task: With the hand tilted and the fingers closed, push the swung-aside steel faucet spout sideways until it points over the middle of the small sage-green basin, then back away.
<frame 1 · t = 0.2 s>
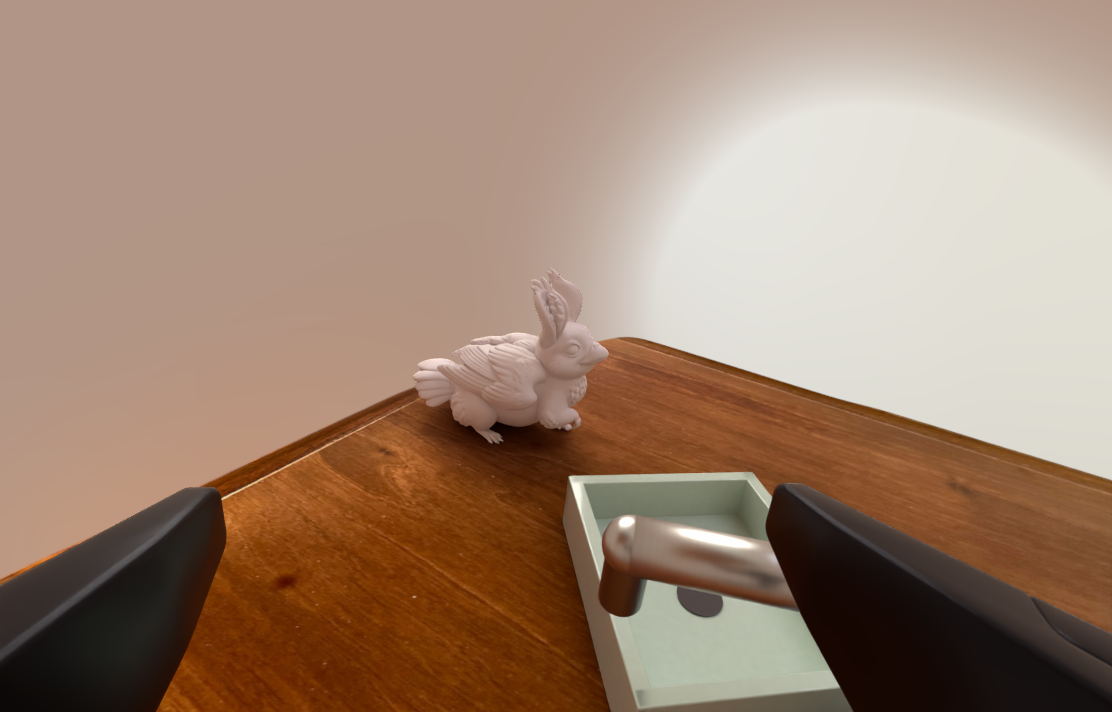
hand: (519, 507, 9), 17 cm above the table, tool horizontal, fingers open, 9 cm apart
figurine: (504, 423, 44), on the table
faucet: (764, 657, 20), point 6 cm above the table, hinge at 0.0°
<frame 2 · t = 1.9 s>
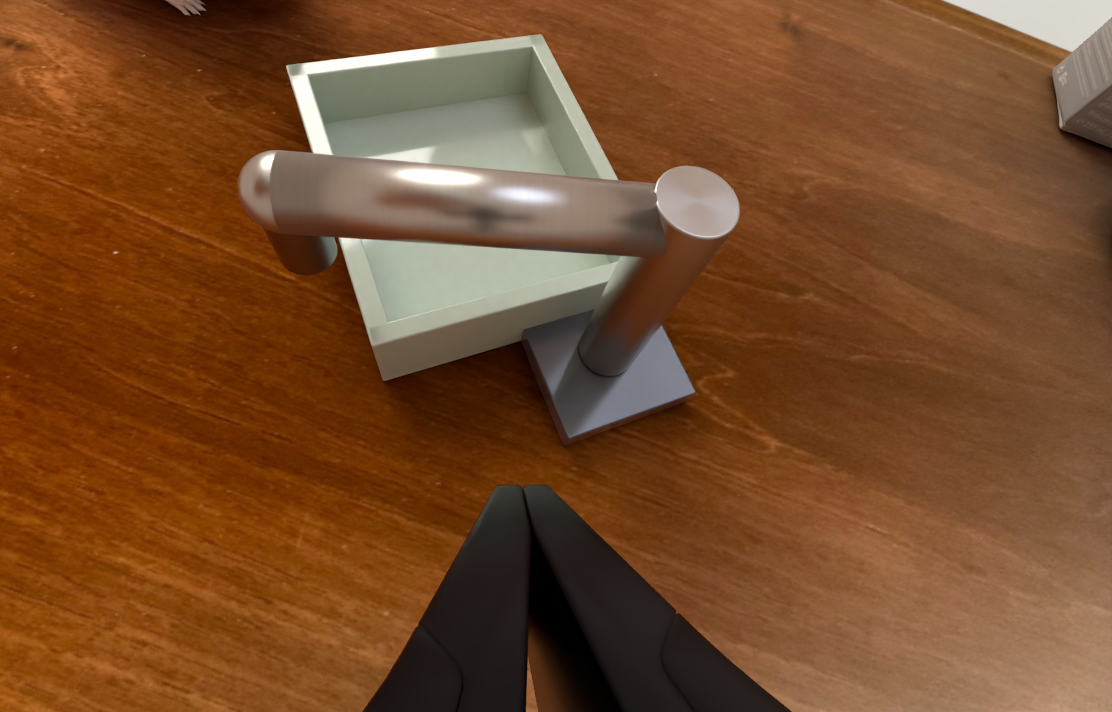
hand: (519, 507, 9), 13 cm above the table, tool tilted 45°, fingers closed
faucet: (494, 284, 18), point 6 cm above the table, hinge at 0.0°
sink: (599, 361, 24), on the table
cosmetic box: (1102, 120, 39), on the table
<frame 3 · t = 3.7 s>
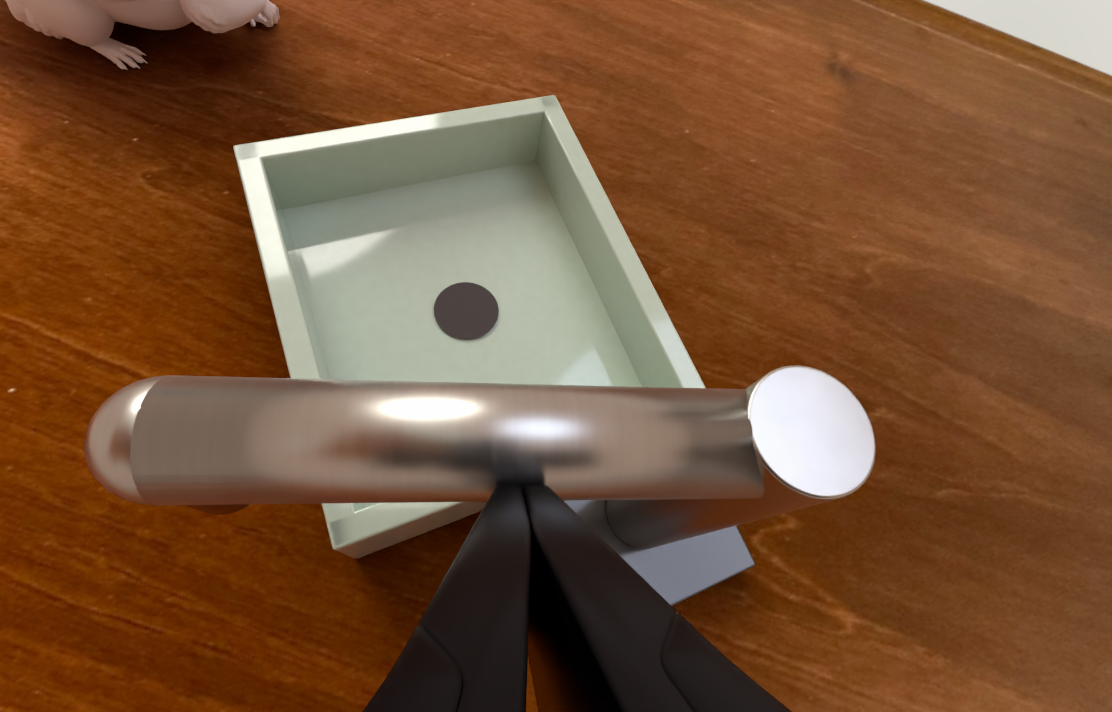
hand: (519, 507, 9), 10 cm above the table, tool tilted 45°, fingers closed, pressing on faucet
figurine: (150, 22, 25), on the table
faucet: (498, 483, 13), point 6 cm above the table, hinge at 0.0°, touching gripper
sink: (629, 516, 19), on the table
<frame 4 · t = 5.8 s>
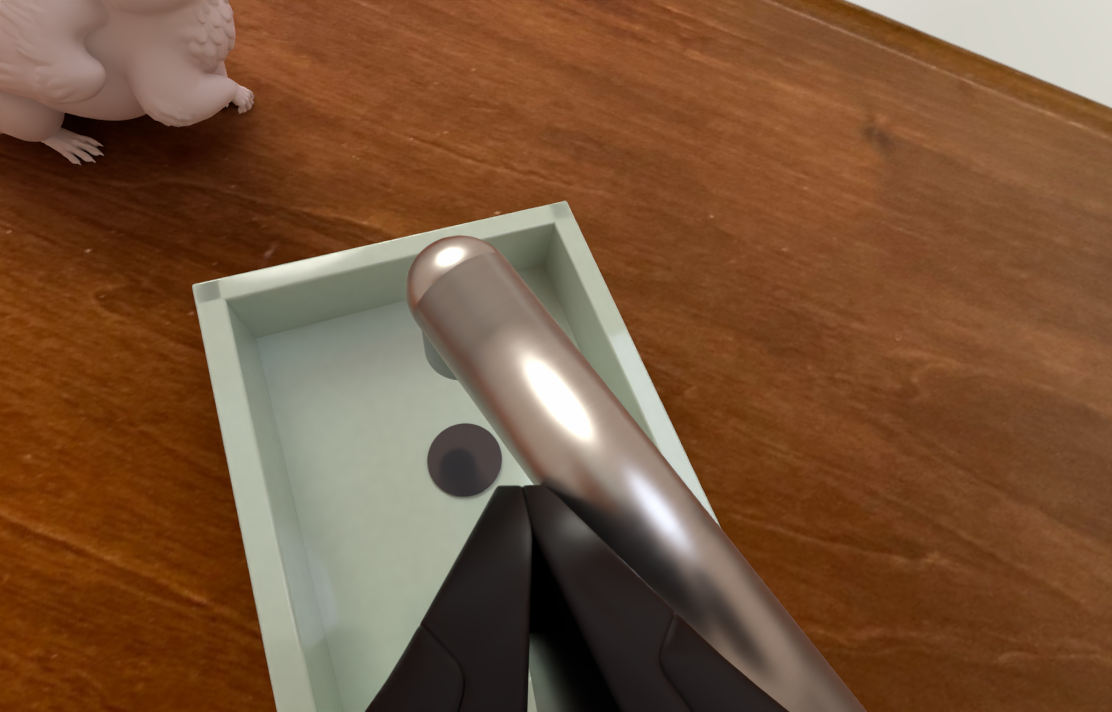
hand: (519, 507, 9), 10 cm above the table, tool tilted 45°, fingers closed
figurine: (109, 103, 22), on the table
faucet: (597, 556, 12), point 6 cm above the table, hinge at 54.4°, touching gripper
sink: (652, 707, 17), on the table
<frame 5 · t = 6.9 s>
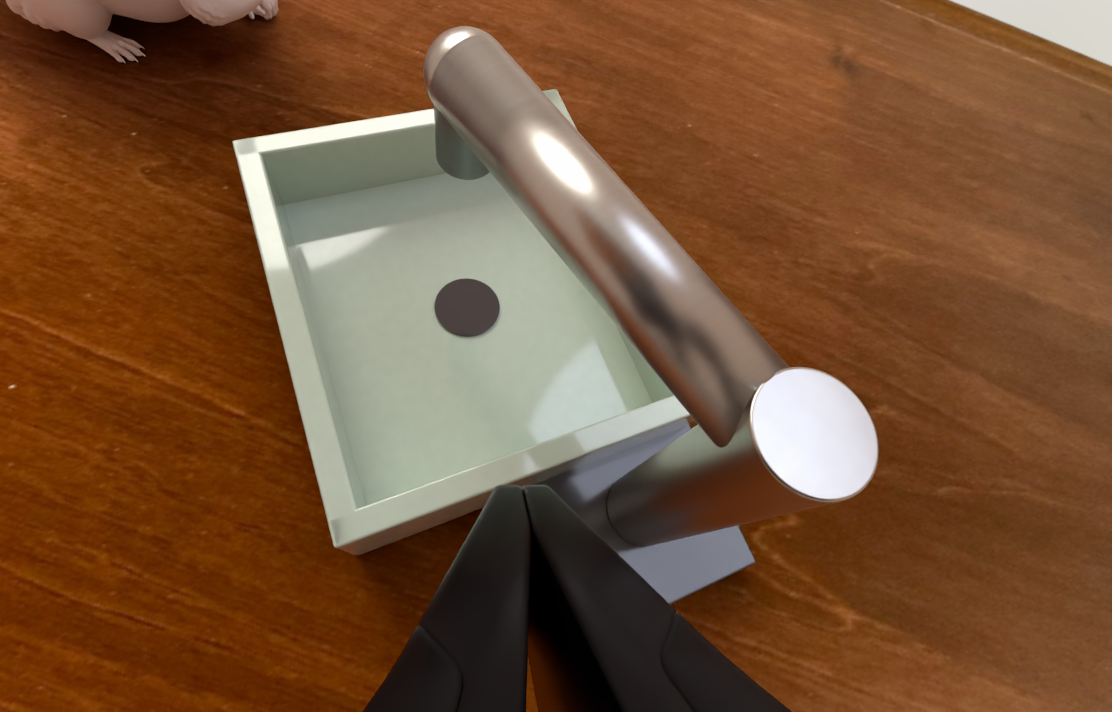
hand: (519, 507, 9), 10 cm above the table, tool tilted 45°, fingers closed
figurine: (148, 14, 25), on the table
faucet: (578, 329, 15), point 6 cm above the table, hinge at 54.5°
sink: (630, 513, 19), on the table
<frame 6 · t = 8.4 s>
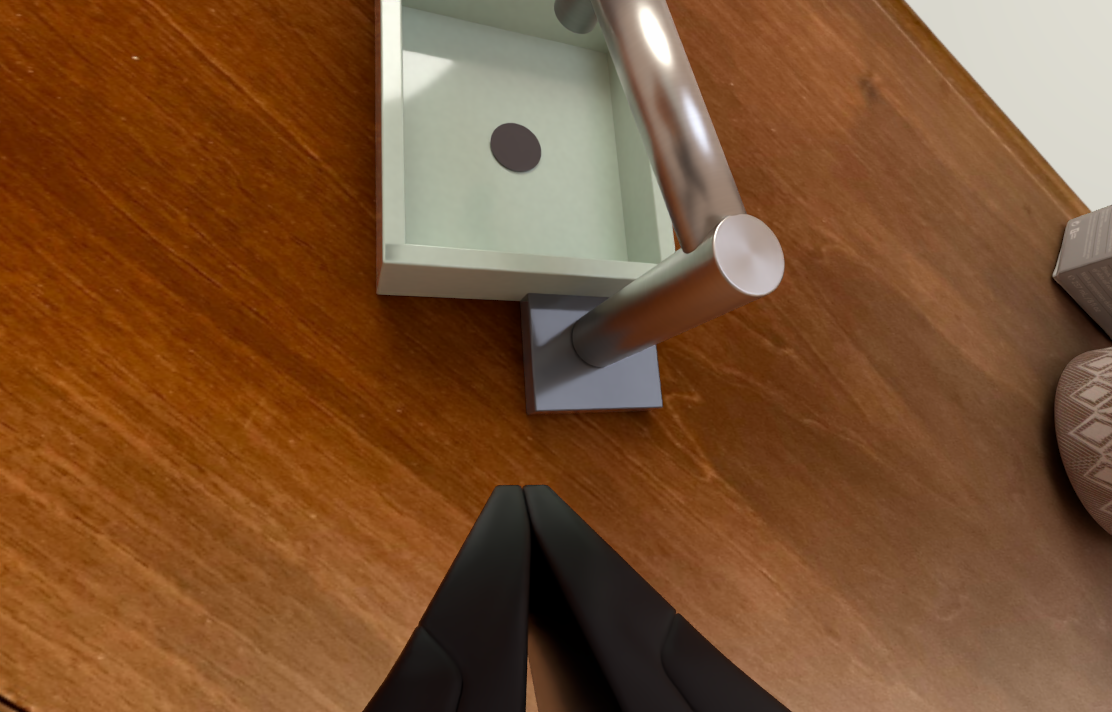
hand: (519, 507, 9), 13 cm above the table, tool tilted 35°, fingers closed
faucet: (609, 175, 20), point 6 cm above the table, hinge at 54.5°
sink: (585, 346, 25), on the table
planter: (1092, 446, 38), on the table
cosmetic box: (1087, 282, 42), on the table
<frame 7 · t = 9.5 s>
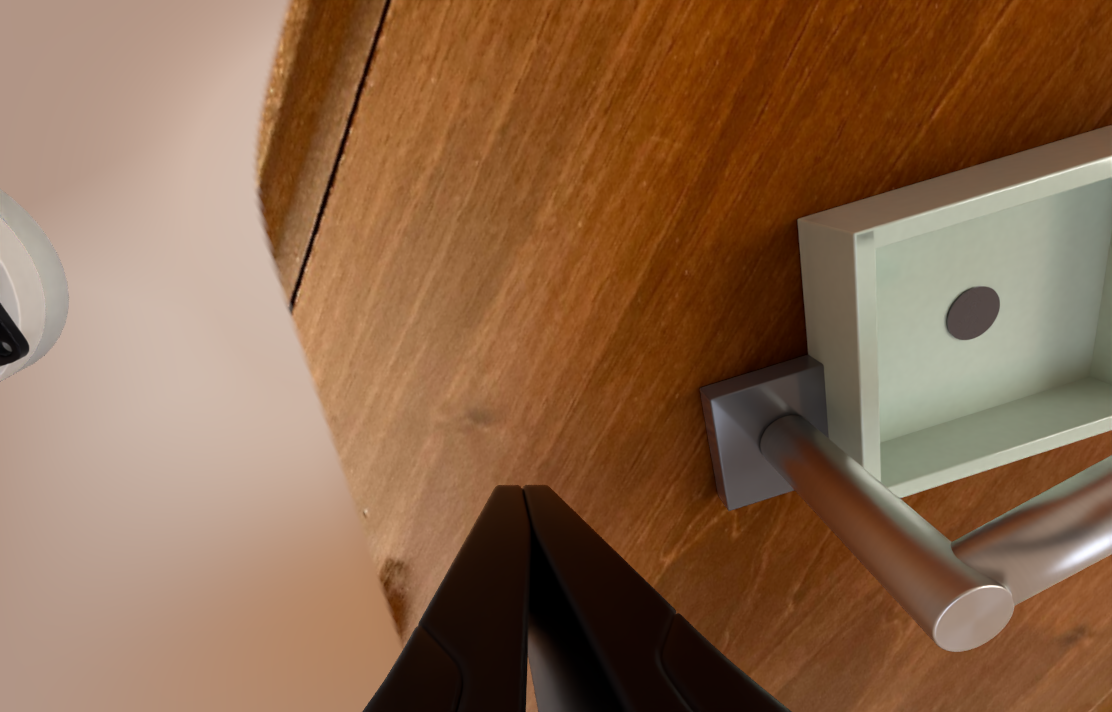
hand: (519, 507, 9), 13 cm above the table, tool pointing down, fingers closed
faucet: (988, 436, 19), point 6 cm above the table, hinge at 54.5°
sink: (770, 424, 25), on the table
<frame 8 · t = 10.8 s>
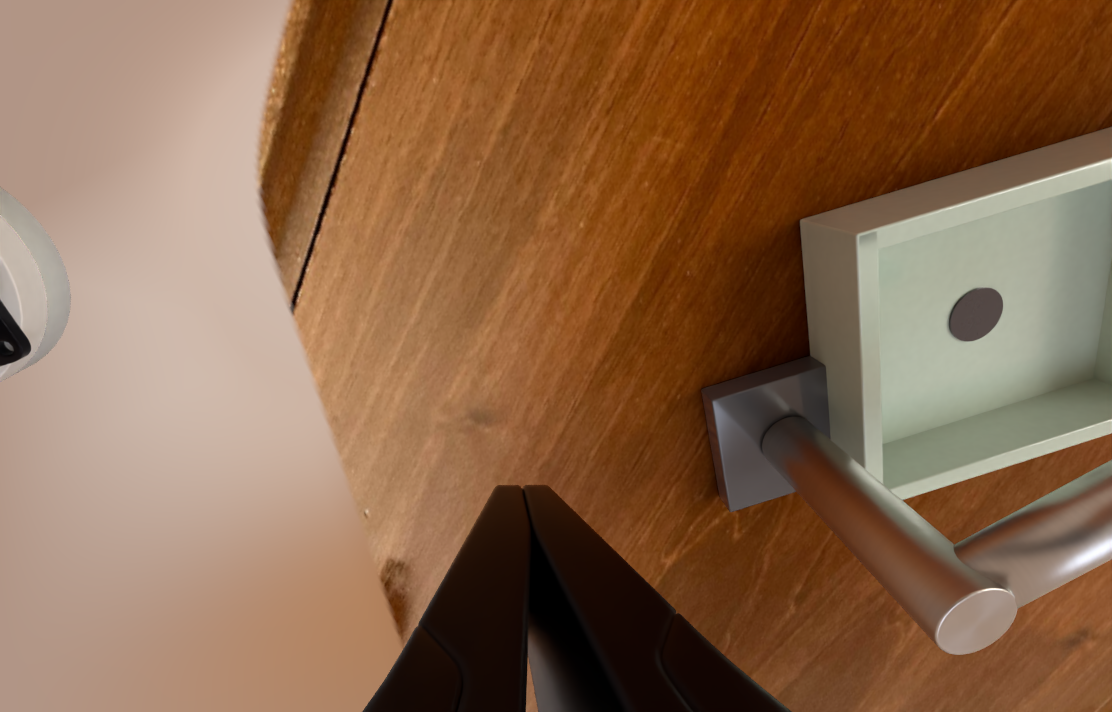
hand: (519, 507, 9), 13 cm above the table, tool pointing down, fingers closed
faucet: (991, 438, 19), point 6 cm above the table, hinge at 54.5°
sink: (772, 426, 25), on the table
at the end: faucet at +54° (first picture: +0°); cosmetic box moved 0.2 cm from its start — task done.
